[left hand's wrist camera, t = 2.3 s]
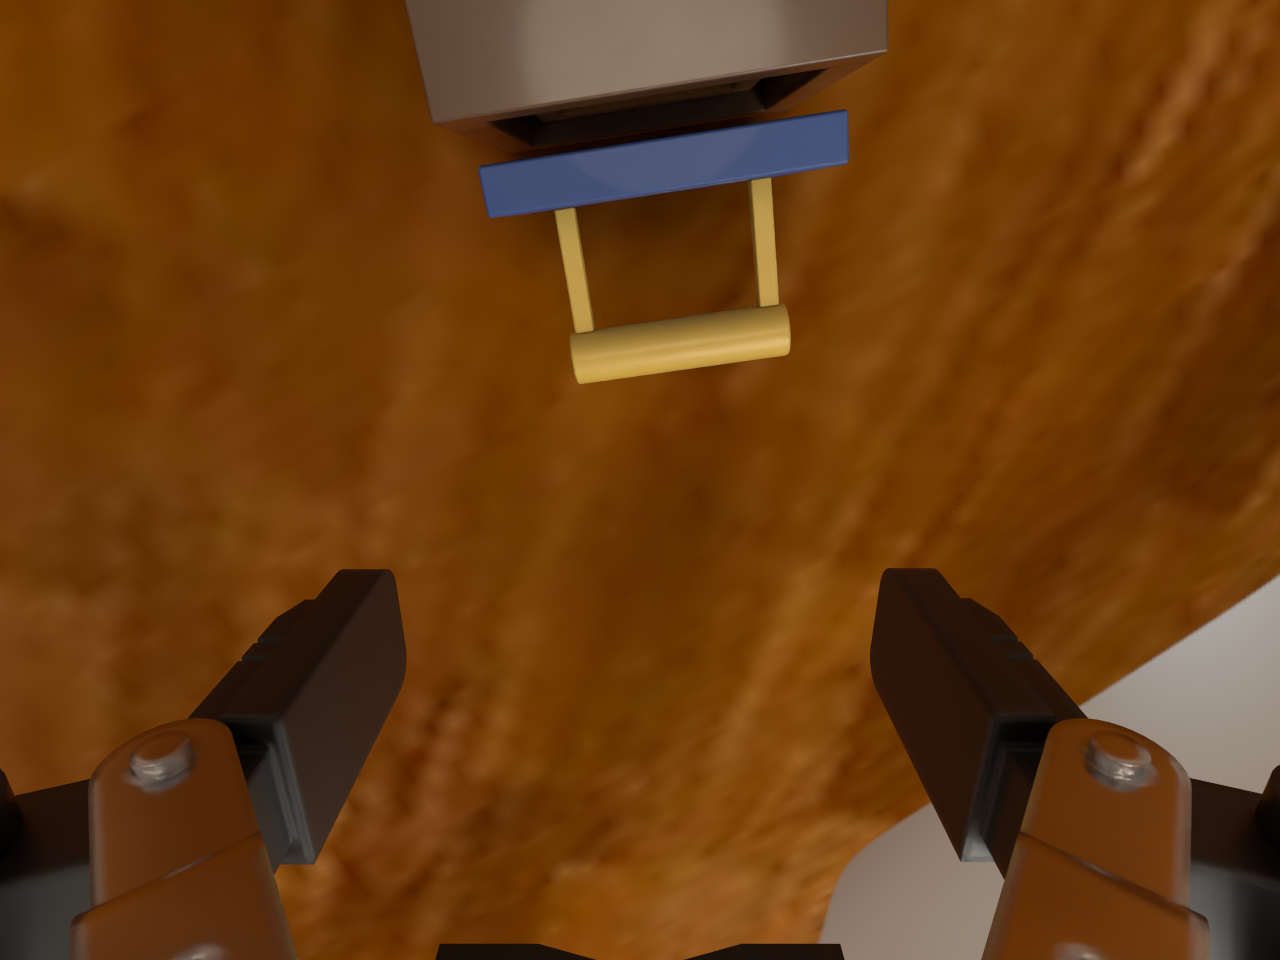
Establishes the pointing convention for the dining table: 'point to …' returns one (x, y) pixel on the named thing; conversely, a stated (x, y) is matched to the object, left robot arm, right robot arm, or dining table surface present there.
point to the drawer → (657, 172)
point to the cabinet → (629, 61)
